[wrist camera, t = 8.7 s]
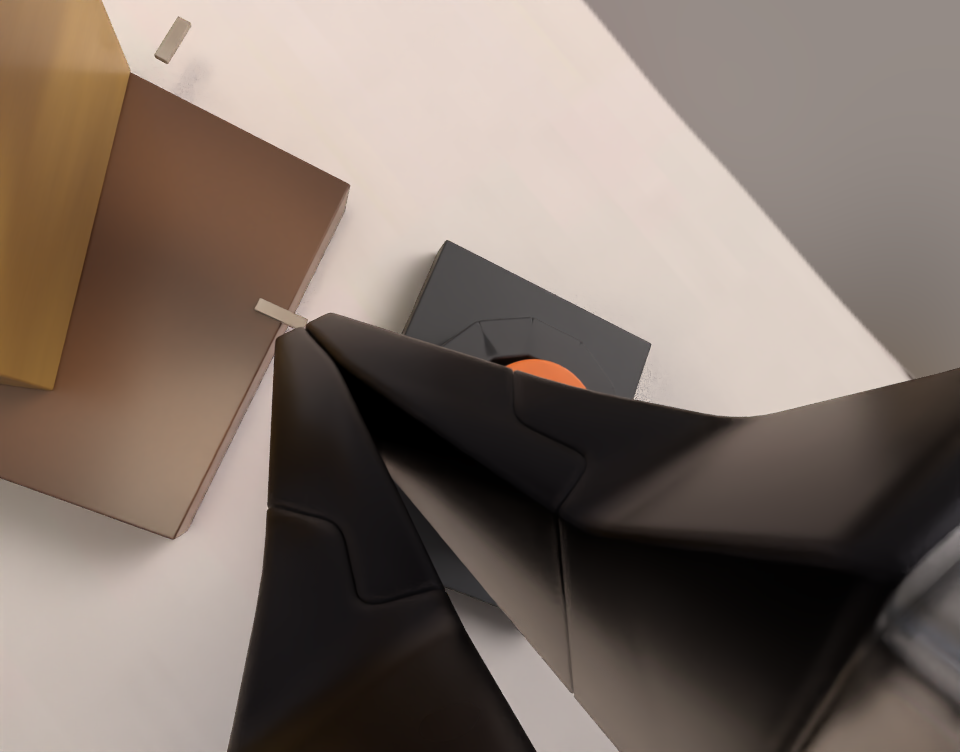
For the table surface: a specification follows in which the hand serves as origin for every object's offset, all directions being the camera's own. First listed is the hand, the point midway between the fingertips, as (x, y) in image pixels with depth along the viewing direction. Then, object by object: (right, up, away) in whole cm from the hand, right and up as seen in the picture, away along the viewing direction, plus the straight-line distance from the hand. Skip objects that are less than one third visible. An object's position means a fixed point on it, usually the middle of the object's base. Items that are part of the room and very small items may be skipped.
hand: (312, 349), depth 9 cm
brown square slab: (-9, +3, +9) cm, 13 cm away
